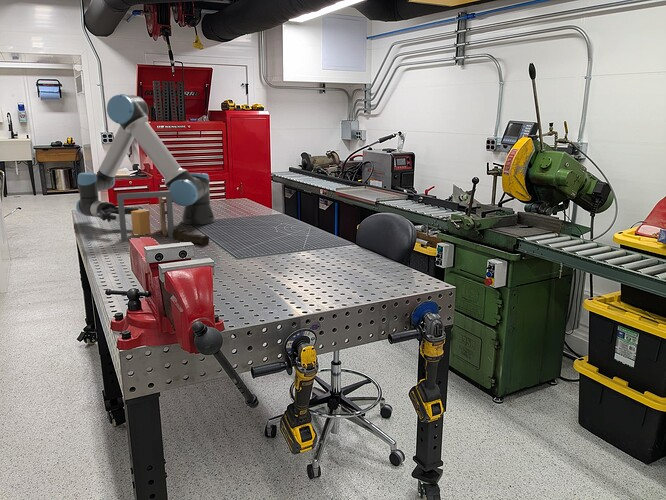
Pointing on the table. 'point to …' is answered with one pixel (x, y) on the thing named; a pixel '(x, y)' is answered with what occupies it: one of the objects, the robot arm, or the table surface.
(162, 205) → the door
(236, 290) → the table surface
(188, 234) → the hand tool
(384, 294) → the table surface
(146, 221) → the block
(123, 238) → the door frame
